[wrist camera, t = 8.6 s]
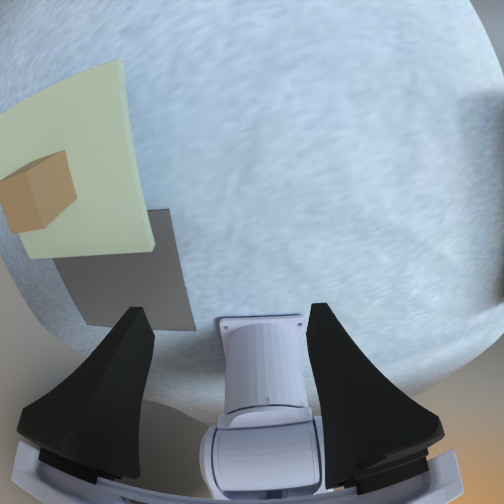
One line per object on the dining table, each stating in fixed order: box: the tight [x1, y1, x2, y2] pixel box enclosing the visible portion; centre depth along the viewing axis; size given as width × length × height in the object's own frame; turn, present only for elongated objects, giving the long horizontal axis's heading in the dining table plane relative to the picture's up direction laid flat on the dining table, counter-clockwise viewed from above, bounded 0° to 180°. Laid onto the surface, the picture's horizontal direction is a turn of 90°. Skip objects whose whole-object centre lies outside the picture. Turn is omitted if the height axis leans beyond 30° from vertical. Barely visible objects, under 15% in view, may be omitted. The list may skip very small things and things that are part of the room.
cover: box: [0, 59, 155, 259], centre depth 11 cm, size 11×11×4 cm
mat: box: [53, 209, 196, 331], centre depth 22 cm, size 13×13×1 cm
